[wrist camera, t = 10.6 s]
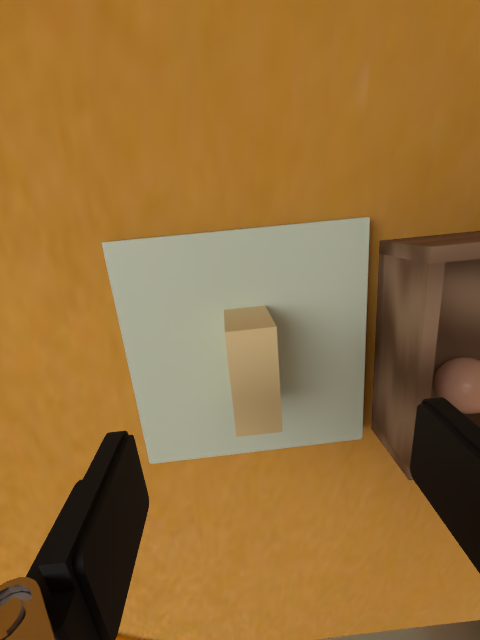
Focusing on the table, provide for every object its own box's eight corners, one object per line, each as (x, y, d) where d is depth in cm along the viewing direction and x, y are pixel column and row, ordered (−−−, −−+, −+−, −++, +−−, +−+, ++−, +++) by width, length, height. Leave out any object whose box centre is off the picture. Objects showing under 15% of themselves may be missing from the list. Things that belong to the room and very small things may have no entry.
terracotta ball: (424, 351, 22) (463, 376, 18) (475, 346, 22) (523, 369, 18) (420, 397, 23) (455, 428, 19) (468, 391, 23) (512, 422, 19)
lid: (107, 241, 18) (67, 248, 13) (362, 217, 19) (411, 216, 14) (152, 453, 23) (135, 515, 18) (356, 430, 23) (391, 483, 18)
